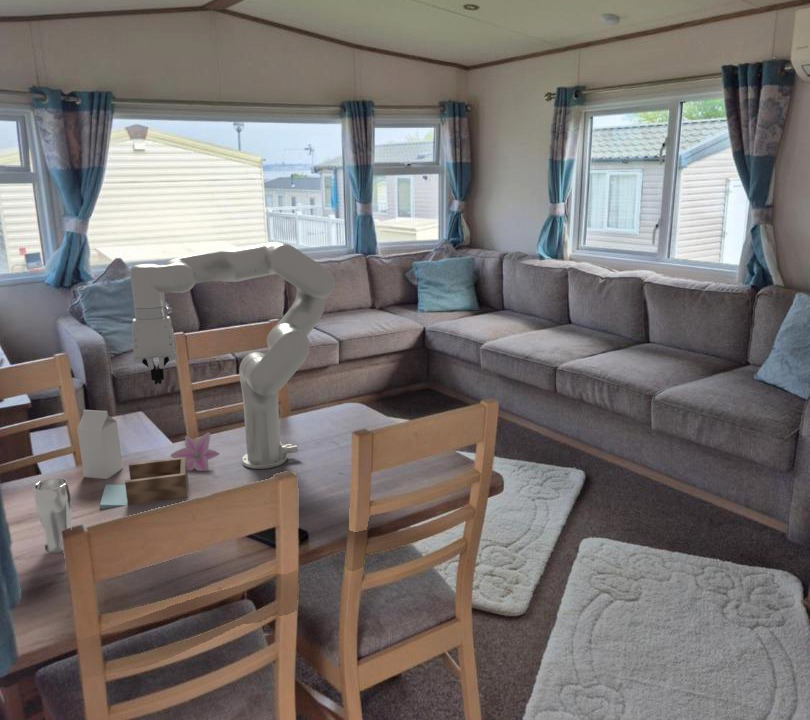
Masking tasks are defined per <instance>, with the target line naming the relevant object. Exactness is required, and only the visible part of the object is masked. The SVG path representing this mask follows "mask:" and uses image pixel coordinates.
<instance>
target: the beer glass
mask: <svg viewBox="0 0 810 720" xmlns="http://www.w3.org/2000/svg"><path fill="white" fill-rule="evenodd" d="M70 491H71V490H70V488H69V484H68V479H66V478H65V477H50V478H45V479H42V480H40V481H38V482H37V483H35V484H34V486H33V494H34V495H33V496H34V505H35V510H36V514H37V517H38V519H39V521H40V524H41V527H42V529H43V533H44V536H45V543H44V550H45V551H46V553H49V554H50V553H51V554H59V553H63V552H64V551H63V550H62V540H61V531H62V530H63V529H67V528H70V527H71V528H72V514H73V513H72V512H73V510H72V509H73V508H72V507H73V503H72V497H71V492H70Z"/></svg>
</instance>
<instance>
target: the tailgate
mask: <svg viewBox="0 0 810 720" xmlns="http://www.w3.org/2000/svg"><path fill="white" fill-rule="evenodd" d="M123 506H125V507H126V506H128V502H127V494H126V486H125V484H107V483H106V484H105V485H104V490H103V493H102V495H101V501H100V504H99V510H102V509H110V508H117V507H123Z"/></svg>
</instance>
